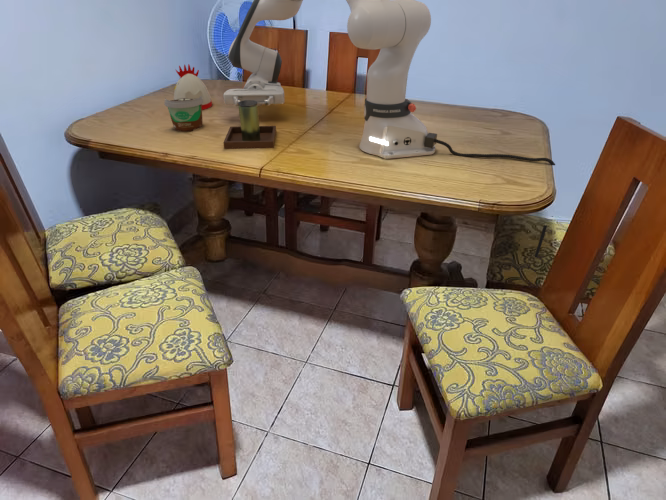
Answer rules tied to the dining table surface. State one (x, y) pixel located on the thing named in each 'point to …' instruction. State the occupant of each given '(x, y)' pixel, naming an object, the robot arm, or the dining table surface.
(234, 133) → the tray
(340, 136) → the dining table surface
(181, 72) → the kitchen timer
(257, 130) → the tin canister
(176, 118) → the food container
